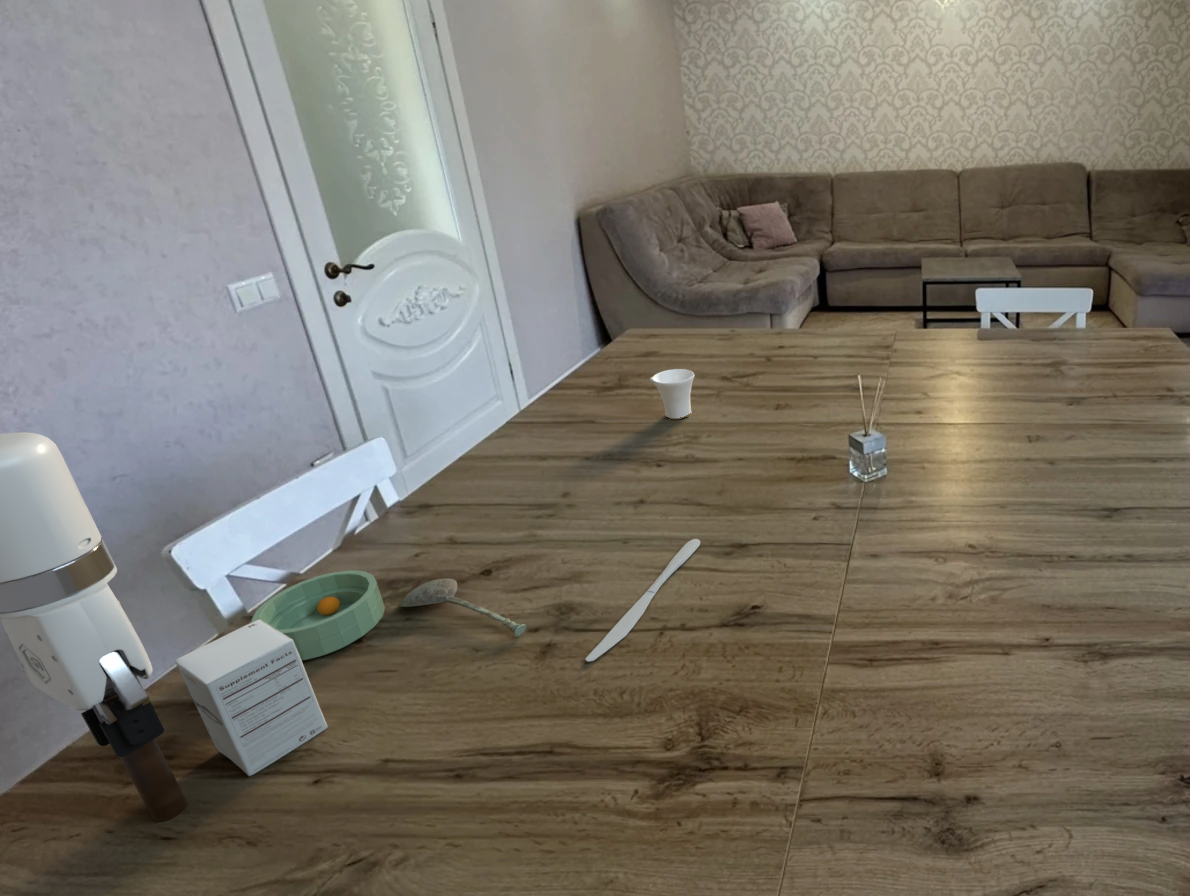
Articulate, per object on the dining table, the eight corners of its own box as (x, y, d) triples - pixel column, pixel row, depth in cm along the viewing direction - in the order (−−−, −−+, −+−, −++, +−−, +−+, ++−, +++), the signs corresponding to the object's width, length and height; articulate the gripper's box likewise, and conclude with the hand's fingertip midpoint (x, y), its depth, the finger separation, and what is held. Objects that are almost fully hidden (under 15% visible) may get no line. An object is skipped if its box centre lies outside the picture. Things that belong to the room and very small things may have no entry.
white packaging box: (215, 752, 77) (171, 659, 72) (297, 704, 83) (261, 615, 78) (247, 780, 73) (203, 684, 69) (330, 728, 80) (294, 637, 75)
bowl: (251, 679, 86) (237, 646, 85) (279, 618, 97) (267, 587, 95) (377, 644, 92) (366, 612, 90) (391, 589, 102) (382, 560, 101)
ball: (318, 621, 95) (312, 606, 94) (322, 610, 97) (317, 596, 96) (340, 615, 96) (335, 600, 96) (344, 605, 98) (338, 590, 98)
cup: (656, 411, 162) (650, 370, 159) (699, 406, 165) (694, 365, 161) (655, 427, 154) (648, 384, 151) (699, 421, 157) (694, 379, 153)
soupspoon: (439, 584, 105) (393, 613, 99) (432, 565, 103) (385, 593, 98) (543, 620, 96) (499, 654, 90) (537, 600, 95) (491, 633, 89)
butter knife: (707, 540, 113) (690, 536, 113) (600, 663, 88) (578, 659, 89) (708, 543, 113) (690, 539, 113) (600, 667, 88) (579, 662, 89)
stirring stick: (149, 826, 69) (83, 707, 63) (159, 806, 71) (96, 689, 65) (182, 815, 70) (120, 697, 64) (191, 796, 72) (132, 679, 66)
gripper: (-66, 579, 60) (32, 744, 66) (27, 627, 54) (124, 801, 61) (61, 533, 66) (139, 686, 73) (156, 571, 61) (231, 734, 67)
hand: (132, 737), depth 67 cm, fingers closed on stirring stick, 2 cm apart
